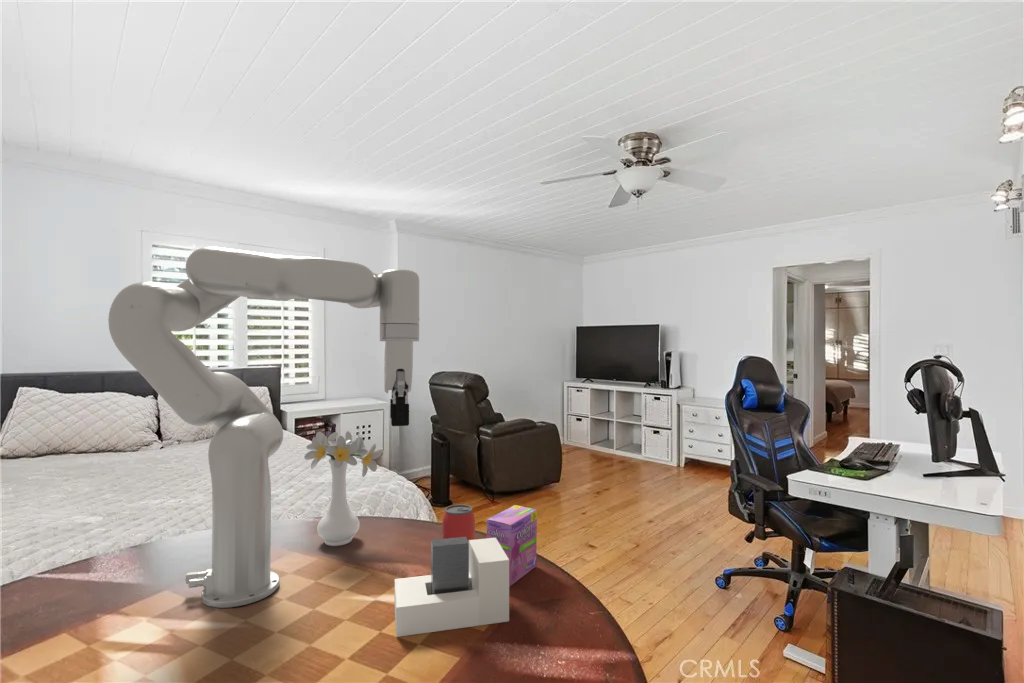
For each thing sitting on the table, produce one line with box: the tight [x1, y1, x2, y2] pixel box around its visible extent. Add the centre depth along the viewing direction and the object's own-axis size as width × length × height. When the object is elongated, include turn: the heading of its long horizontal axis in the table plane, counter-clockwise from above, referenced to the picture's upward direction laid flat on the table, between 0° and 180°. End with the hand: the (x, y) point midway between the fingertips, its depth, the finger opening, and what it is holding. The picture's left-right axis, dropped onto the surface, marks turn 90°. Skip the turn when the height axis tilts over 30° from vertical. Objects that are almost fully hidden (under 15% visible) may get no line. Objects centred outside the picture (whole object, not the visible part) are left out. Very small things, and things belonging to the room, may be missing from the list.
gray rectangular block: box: [430, 537, 469, 595], centre depth 85 cm, size 6×3×12 cm, turn 104°
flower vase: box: [304, 430, 384, 547], centre depth 117 cm, size 13×18×25 cm
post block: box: [394, 537, 510, 638], centre depth 85 cm, size 18×10×10 cm, turn 105°
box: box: [486, 504, 538, 587], centre depth 100 cm, size 10×6×12 cm, turn 148°
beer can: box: [442, 504, 476, 542], centre depth 103 cm, size 7×7×12 cm
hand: (399, 421), depth 98 cm, fingers open, 9 cm apart
